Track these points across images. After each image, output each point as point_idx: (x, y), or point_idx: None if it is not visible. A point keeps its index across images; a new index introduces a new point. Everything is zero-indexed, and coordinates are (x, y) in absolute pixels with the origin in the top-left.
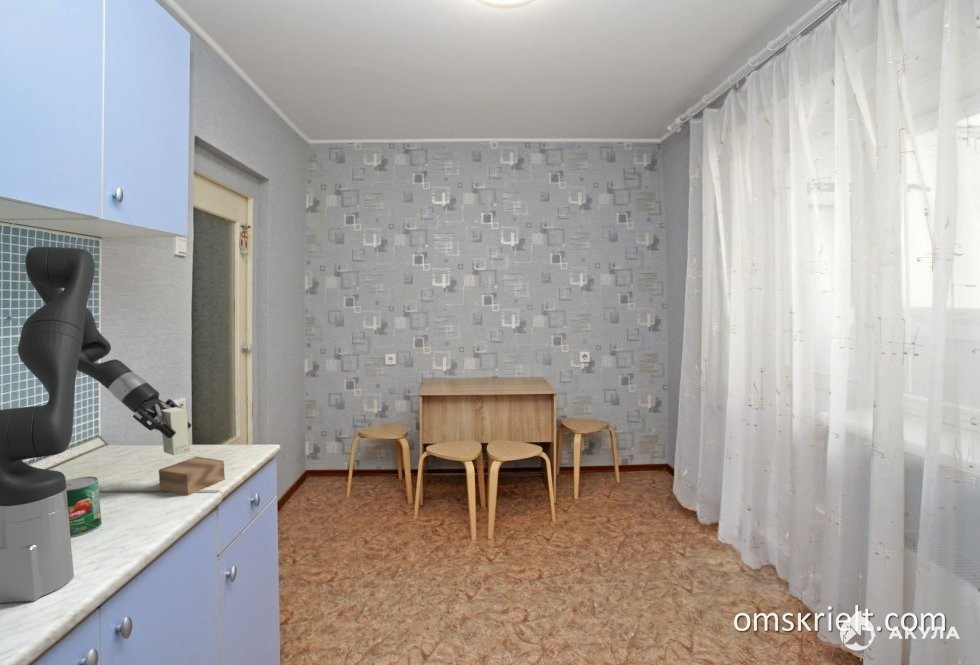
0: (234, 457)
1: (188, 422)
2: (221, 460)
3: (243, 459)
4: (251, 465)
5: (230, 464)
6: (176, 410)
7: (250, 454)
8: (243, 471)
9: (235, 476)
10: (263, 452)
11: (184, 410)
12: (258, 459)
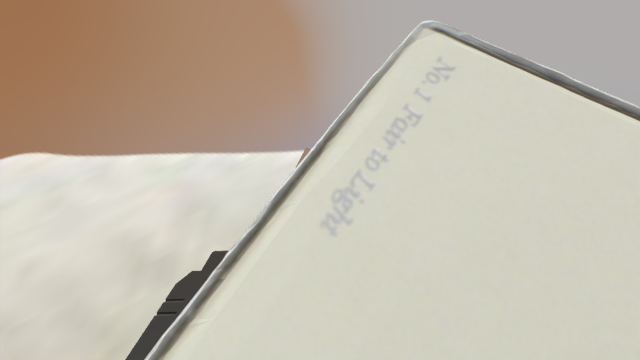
0: (40, 273)
1: (204, 273)
2: (301, 158)
3: (87, 220)
4: (175, 159)
5: (136, 245)
6: (577, 174)
7: (27, 220)
8: (235, 159)
9: (282, 164)
10: (24, 178)
11: (463, 52)
12: (111, 162)
